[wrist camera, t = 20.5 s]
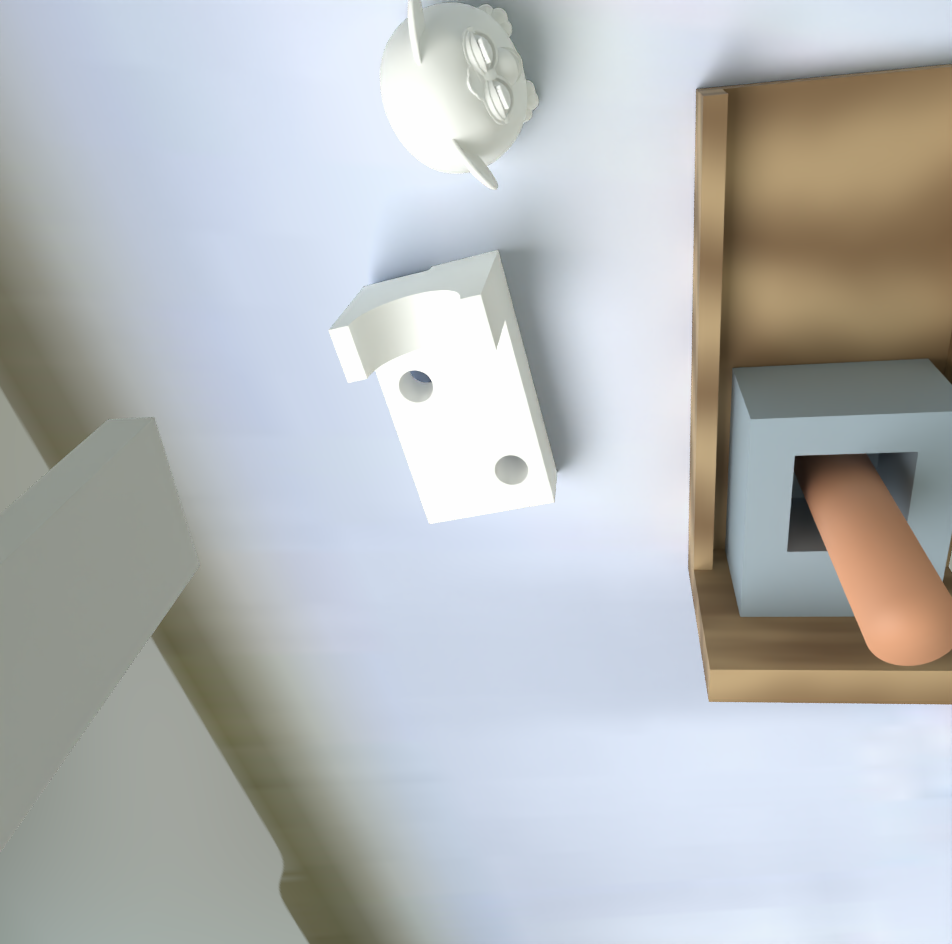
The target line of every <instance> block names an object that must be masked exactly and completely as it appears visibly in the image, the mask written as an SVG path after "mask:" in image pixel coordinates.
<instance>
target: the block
mask: <svg viewBox="0 0 952 944" xmlns="http://www.w3.org/2000/svg"><path fill="white" fill-rule="evenodd" d="M864 453H866V454H867V455H868V457H869V459H870V460H871V462H872V464H873V465H874V467H875V469H876V471H877V472H878V474H879V476H880V477H881V479H882V481H883V482H884V484H885V486H886V487H887V489H888V491H889V492H890V494H891V496H892V497H893V499H894V501H895V502H896V504H897V506H898V508H899V509H900V511H901V513H902V514H903V516H904V518H905V519H906V521H907V523H908V524H909V526H910V528H911V529H912V531H913V533H914V534H915V536H916V538H917V540H918V541H919V543H920V545H921V546H922V548H923V550H924V551H925V553H926V555H927V556H928V558H929V560H930V561H931V563H932V565H933V566H934V568H935V570H936V572H937V573H938V575H939V577H940V578H941V580H942V582H943V577H944V572H945V567H946V561H947V556H948V551H949V545H950V540H951V535H952V384H951V383H950V382H949V381H948V380H947V379H946V378H945V377H944V376H943V374H942V373H941V372H940V371H939V370H938V369H937V368H936V367H935V366H934V364H933V363H932V362H931V361H930V360H929V359H908V360H888V361H867V362H846V363H825V364H804V365H784V366H763V367H742V368H732V393H731V417H730V442H729V466H728V491H727V515H726V540H725V552H726V556H727V561H728V565H729V569H730V574H731V578H732V583H733V587H734V592H735V596H736V601H737V605H738V609H739V614H740V617H852V616H854V613H853V611H852V609H851V606H850V604H849V601H848V599H847V597H846V594H845V592H844V590H843V587H842V585H841V582H840V580H839V578H838V575H837V573H836V570H835V568H834V566H833V563H832V561H831V559H830V556H829V554H828V551H827V549H826V547H825V544H824V542H823V540H822V537H821V535H820V532H819V530H818V528H817V525H816V523H815V521H814V518H813V516H812V513H811V511H810V509H809V506H808V504H807V502H806V499H805V497H804V494H803V492H802V490H801V487H800V485H799V483H798V480H797V478H796V475H795V473H794V460H795V456H802V455H833V454H864Z"/></svg>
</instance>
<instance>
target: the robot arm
mask: <svg viewBox="0 0 952 944" xmlns="http://www.w3.org/2000/svg"><path fill="white" fill-rule="evenodd" d="M199 566H200V563H199V560H198V557H197V554H196V550H195V547H194V544H193V541H192V538H191V534H190V531H189V528H188V525H187V521H186V518H185V515H184V512H183V508H182V505H181V502H180V499H179V495H178V492H177V489H176V486H175V483H174V479H173V476H172V473H171V470H170V466H169V463H168V460H167V457H166V453H165V450H164V447H163V444H162V441H161V437H160V434H159V431H158V428H157V424H156V421H155V418H154V417H147V418H125V419H108V420H107V421H106V422H105V423H103V424H102V425H101V426H100V427H99V428H98V429H97V430H95V431H94V432H93V433H92V434H91V435H90V436H89V437H87V438H86V439H85V440H84V441H83V442H82V443H80V444H79V445H78V446H77V447H76V448H75V449H74V450H72V451H71V452H70V453H69V454H68V455H67V456H66V457H64V458H63V459H62V460H61V461H60V462H59V463H58V464H56V465H55V466H54V467H53V468H52V469H51V470H49V471H48V472H47V473H46V474H45V475H44V476H43V477H42V478H40V479H39V480H38V481H37V482H36V483H35V484H33V485H32V486H31V487H30V488H29V489H28V490H27V491H25V492H24V493H23V494H22V495H21V496H20V497H18V499H16V500H15V501H14V502H13V503H12V504H11V505H9V506H8V507H7V508H6V509H5V510H4V511H2V512H1V513H0V852H1V851H2V849H3V848H4V847H5V845H6V844H7V842H8V841H9V839H10V838H11V836H12V835H13V833H14V832H15V831H16V829H17V828H18V826H19V825H20V824H21V822H22V821H23V819H24V818H25V816H26V815H27V813H28V812H29V810H30V809H31V808H32V806H33V805H34V803H35V802H36V801H37V799H38V798H39V796H40V795H41V793H42V792H43V790H44V789H45V788H46V786H47V785H48V783H49V782H50V780H51V779H52V777H53V776H54V774H55V773H56V772H57V770H58V769H59V767H60V766H61V764H62V763H63V762H64V760H65V759H66V757H67V756H68V754H69V753H70V751H71V750H72V749H73V747H74V746H75V744H76V743H77V741H78V740H79V739H80V737H81V736H82V734H83V733H84V732H85V730H86V729H87V727H88V726H89V724H90V723H91V721H92V720H93V719H94V717H95V716H96V714H97V713H98V711H99V710H100V709H101V707H102V705H103V704H104V703H105V701H106V700H107V698H108V697H109V696H110V694H111V693H112V691H113V690H114V688H115V687H116V685H117V684H118V683H119V681H120V680H121V678H122V677H123V675H124V674H125V673H126V671H127V670H128V668H129V667H130V665H131V664H132V662H133V661H134V659H135V658H136V657H137V655H138V654H139V652H140V651H141V649H142V648H143V647H144V645H145V644H146V642H147V641H148V639H149V638H150V637H151V635H152V634H153V632H154V631H155V629H156V628H157V627H158V625H159V624H160V622H161V621H162V619H163V618H164V616H165V615H166V614H167V612H168V611H169V609H170V608H171V606H172V605H173V604H174V602H175V601H176V599H177V598H178V596H179V595H180V593H181V592H182V591H183V589H184V588H185V586H186V585H187V583H188V582H189V581H190V579H191V578H192V576H193V575H194V573H195V572H196V570H197V569H198V568H199Z"/></svg>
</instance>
